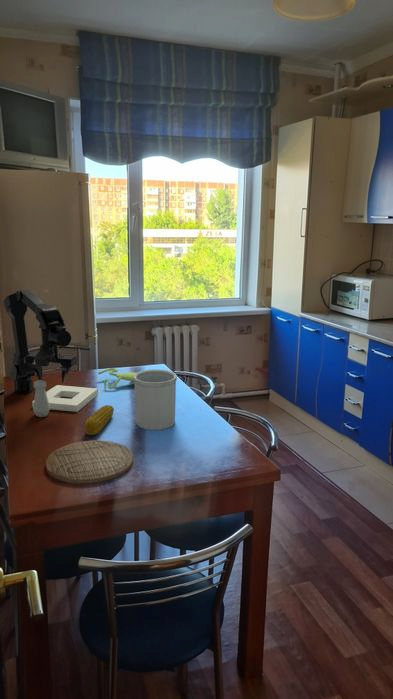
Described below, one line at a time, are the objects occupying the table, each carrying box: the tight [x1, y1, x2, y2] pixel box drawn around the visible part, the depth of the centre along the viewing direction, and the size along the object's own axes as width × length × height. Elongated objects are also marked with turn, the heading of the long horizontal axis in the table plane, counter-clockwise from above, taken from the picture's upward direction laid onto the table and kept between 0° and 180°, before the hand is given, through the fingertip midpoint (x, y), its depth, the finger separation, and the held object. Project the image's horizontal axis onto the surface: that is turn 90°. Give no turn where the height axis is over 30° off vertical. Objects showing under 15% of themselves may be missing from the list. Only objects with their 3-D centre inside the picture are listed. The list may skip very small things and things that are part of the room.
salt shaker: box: [32, 379, 51, 418], centre depth 184 cm, size 6×6×13 cm
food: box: [84, 404, 115, 436], centre depth 177 cm, size 21×6×6 cm, turn 173°
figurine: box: [98, 367, 137, 391], centre depth 222 cm, size 18×27×6 cm
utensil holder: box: [133, 369, 178, 431], centre depth 178 cm, size 15×15×18 cm
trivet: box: [45, 439, 134, 485], centre depth 150 cm, size 25×25×2 cm
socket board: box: [31, 384, 99, 413], centre depth 200 cm, size 18×20×2 cm
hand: (52, 381), depth 192 cm, fingers open, 9 cm apart
